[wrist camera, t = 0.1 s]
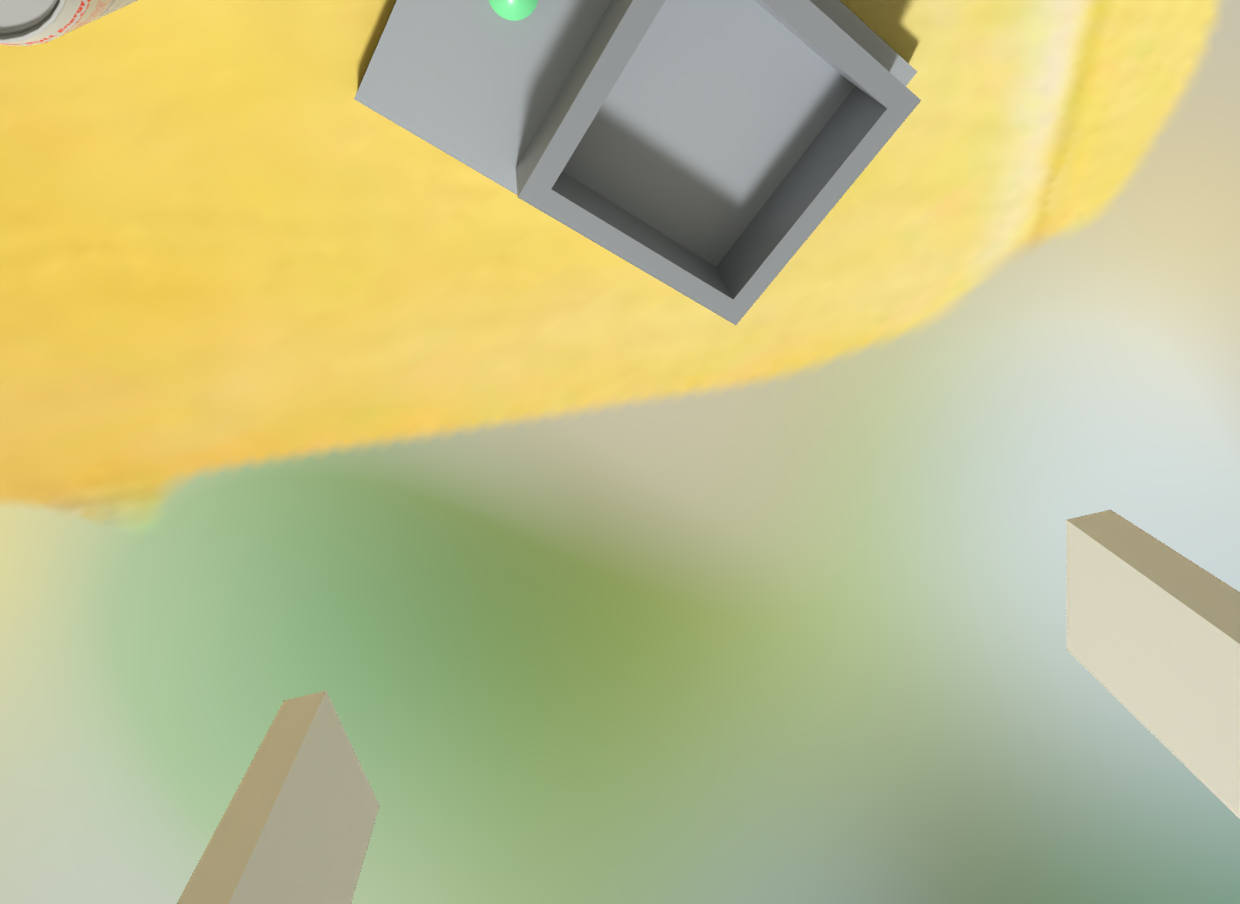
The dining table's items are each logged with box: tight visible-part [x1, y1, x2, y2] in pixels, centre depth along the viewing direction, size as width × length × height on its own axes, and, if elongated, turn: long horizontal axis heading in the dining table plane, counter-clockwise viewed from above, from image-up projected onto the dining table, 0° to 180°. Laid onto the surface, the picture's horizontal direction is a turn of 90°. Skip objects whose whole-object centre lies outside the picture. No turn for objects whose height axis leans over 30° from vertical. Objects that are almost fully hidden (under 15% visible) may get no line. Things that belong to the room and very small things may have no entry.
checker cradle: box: [354, 0, 921, 325], centre depth 31 cm, size 14×20×4 cm
